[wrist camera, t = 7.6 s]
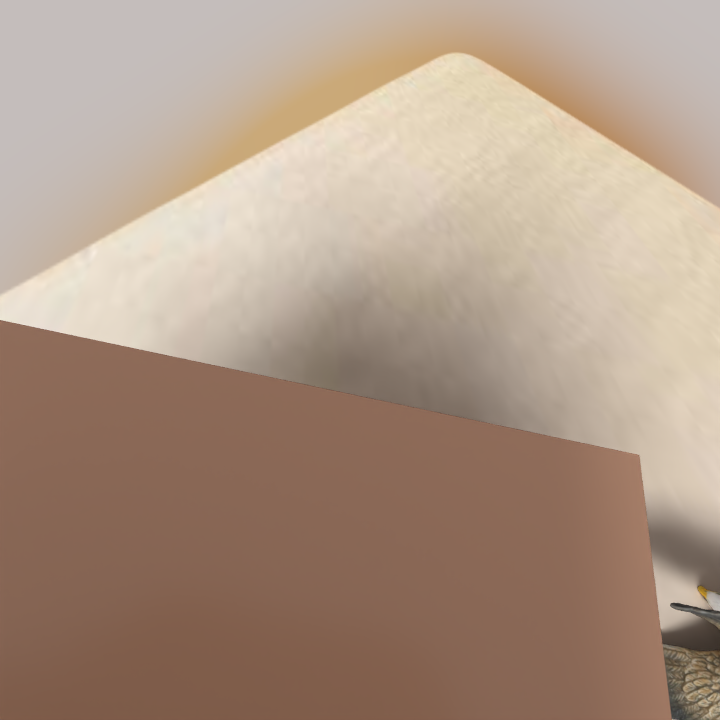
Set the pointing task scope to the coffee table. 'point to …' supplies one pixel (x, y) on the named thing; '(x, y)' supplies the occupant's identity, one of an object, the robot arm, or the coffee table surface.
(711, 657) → the grey brown animal figure
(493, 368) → the coffee table surface
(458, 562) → the block
